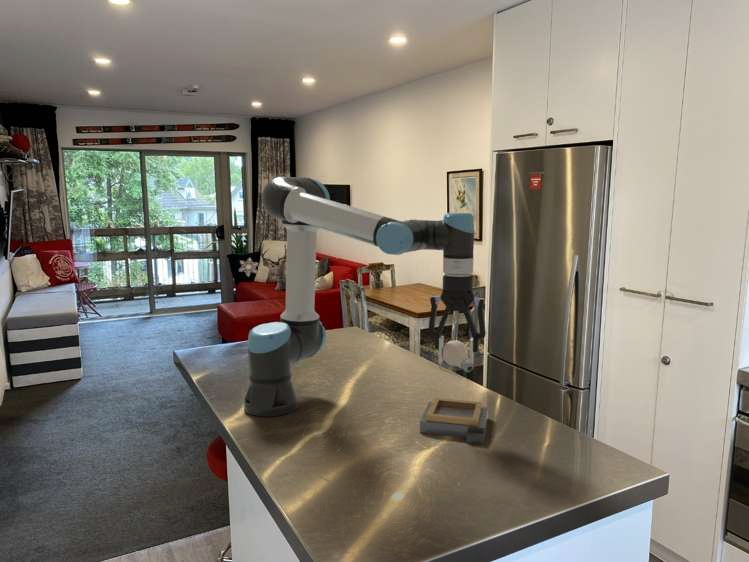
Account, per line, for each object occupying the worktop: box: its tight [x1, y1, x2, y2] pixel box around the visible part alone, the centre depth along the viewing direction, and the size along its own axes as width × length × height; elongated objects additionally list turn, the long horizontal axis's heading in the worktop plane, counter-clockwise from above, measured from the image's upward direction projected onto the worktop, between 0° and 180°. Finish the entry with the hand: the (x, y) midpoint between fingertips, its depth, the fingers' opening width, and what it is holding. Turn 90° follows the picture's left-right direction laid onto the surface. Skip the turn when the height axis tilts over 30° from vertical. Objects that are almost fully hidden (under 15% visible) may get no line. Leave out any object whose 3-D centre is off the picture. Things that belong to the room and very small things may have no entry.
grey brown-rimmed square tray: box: [419, 397, 489, 445], centre depth 145 cm, size 16×21×4 cm
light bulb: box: [442, 339, 474, 373], centre depth 140 cm, size 7×7×11 cm
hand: (456, 362), depth 142 cm, fingers closed on light bulb, 7 cm apart
